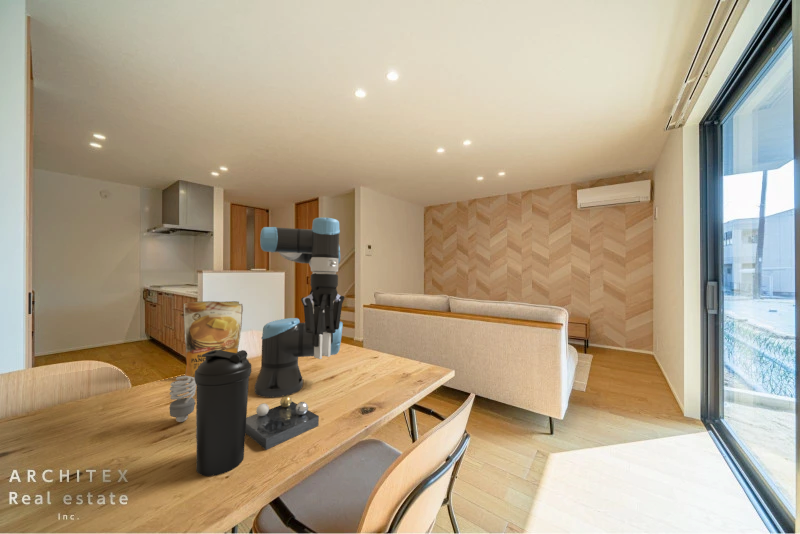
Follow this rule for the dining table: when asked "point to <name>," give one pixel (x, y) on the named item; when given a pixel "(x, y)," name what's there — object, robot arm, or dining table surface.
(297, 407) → the steel ball
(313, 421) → the plate
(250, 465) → the dining table surface
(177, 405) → the light bulb
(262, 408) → the white plastic ball
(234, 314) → the pancake mix bag
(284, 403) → the brass ball
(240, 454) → the water bottle
